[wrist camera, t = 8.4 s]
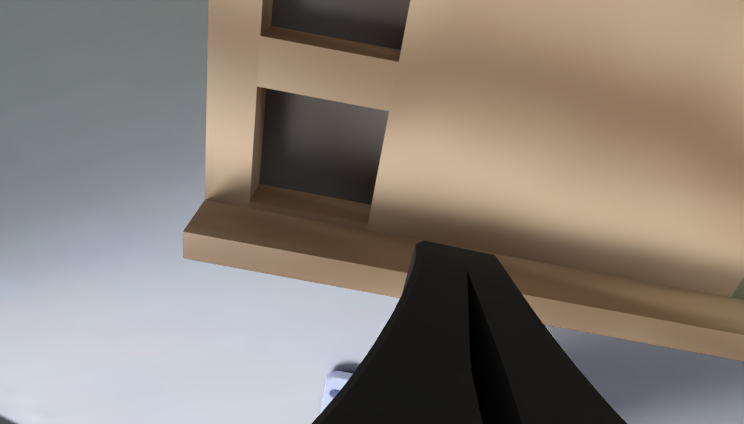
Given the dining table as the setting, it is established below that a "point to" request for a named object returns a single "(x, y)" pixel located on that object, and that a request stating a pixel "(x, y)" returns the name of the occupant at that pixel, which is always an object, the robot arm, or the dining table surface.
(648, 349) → the dining table surface
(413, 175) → the tray
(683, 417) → the dining table surface
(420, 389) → the robot arm
